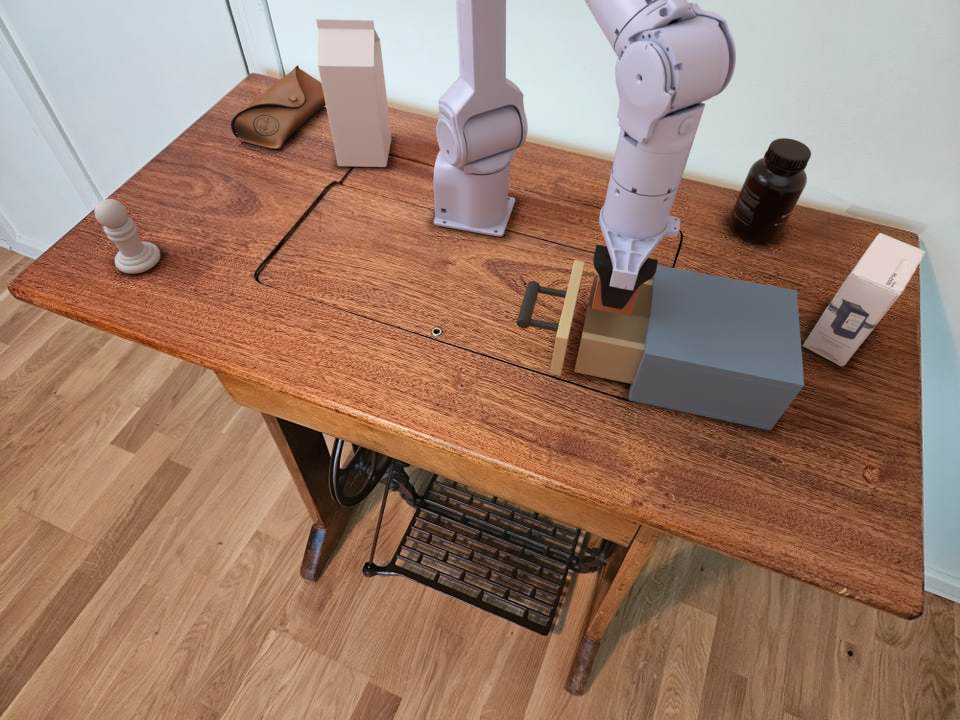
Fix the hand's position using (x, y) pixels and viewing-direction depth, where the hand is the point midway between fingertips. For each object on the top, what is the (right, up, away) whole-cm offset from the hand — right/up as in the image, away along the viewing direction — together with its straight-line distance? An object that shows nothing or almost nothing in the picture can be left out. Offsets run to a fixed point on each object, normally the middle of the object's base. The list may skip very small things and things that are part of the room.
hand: (615, 289), depth 62 cm
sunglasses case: (-44, +31, +36) cm, 65 cm away
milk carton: (-31, +23, +30) cm, 49 cm away
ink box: (+28, -4, +9) cm, 29 cm away
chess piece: (-56, +5, +15) cm, 59 cm away
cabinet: (+11, -8, +6) cm, 15 cm away
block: (0, -1, +1) cm, 1 cm away
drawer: (0, -5, +7) cm, 9 cm away
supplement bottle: (+23, +10, +21) cm, 33 cm away
